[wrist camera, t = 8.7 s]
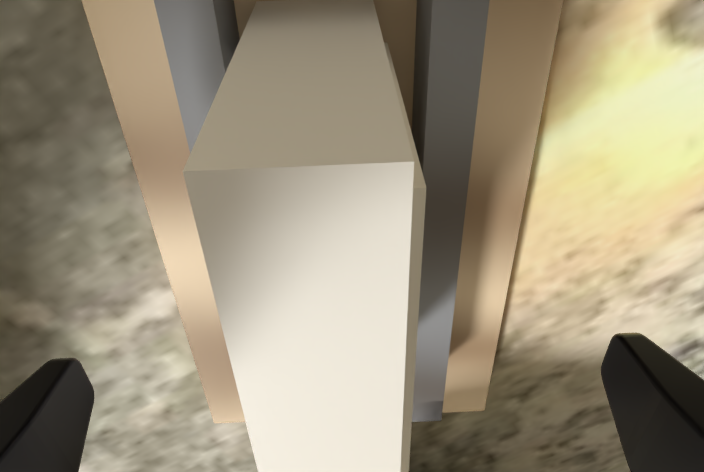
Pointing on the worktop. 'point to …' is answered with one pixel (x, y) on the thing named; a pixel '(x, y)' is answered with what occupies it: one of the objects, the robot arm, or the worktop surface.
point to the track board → (430, 141)
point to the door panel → (314, 237)
